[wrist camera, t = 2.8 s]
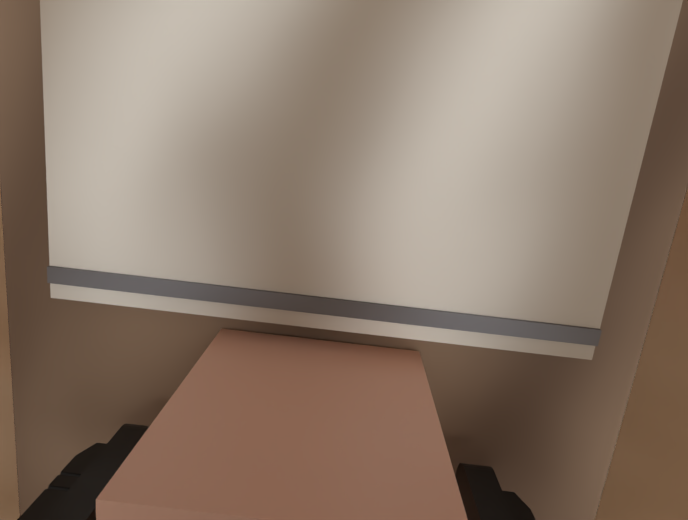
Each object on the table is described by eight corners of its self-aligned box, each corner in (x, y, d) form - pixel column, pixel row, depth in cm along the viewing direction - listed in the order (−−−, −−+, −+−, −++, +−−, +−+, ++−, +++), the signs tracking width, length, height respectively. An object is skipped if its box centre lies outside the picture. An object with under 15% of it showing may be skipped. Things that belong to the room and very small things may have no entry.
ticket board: (727, -119, 11) (816, -182, 9) (519, 684, 17) (542, 763, 15) (25, -198, 11) (-55, -279, 9) (57, 630, 17) (14, 701, 15)
